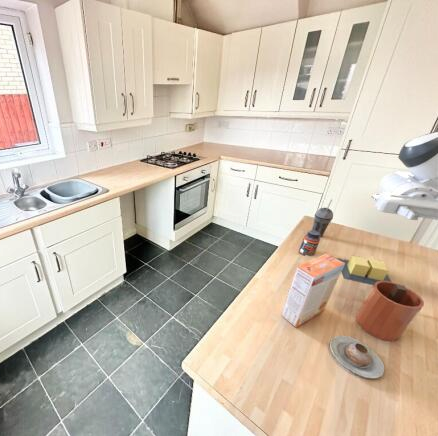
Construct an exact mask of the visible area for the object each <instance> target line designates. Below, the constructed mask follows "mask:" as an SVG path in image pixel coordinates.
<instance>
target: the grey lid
mask: <svg viewBox="0 0 438 436" xmlns="http://www.w3.org/2000/svg"><path fill="white" fill-rule="evenodd" d="M329 348H330V351H331V353H332V354H333V356H334V358H335V359H336V360H337V361H338V362H339V364H341V365H342V366H343V367H344V368H345V369H347V370H348V371H350V372H352V373H353V374H354V375H356V376H358V377H360V378H364V379H378V378H380V377H382V376H383V375H384V374H385V365H384V362H383V360H382V359H381V357H380V356H379V355H378V354H377V352H375V350H373V348H371V346H368V345H367V344H366V343H364V342H362V341H361V340H358V339H356V338H354V337H352V336H348V335H336V336H334V337H332V338H331V339H330V341H329Z"/></svg>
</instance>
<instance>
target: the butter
mask: <svg viewBox="0 0 438 436" xmlns="http://www.w3.org/2000/svg"><path fill="white" fill-rule="evenodd" d="M348 260H349V262H348V264H347V266H348V269H349V271H350V274H353V275H358V276H362V277H365V275H366V274H367V276H368V278H371V279H376V280H380V281H383V280H384V278H385V276H386V275H388V273H389V268H387V266H386V264H385V262H384V261H382V260H377V259H373V258H368V259H367V258H366V257H363V256H357V255H351V256H350V258H349V259H348Z"/></svg>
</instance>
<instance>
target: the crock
mask: <svg viewBox="0 0 438 436" xmlns="http://www.w3.org/2000/svg"><path fill="white" fill-rule="evenodd" d="M395 284H399V285H401V284H400V283H396V282H393V281H392V282H389V281H378V282H376V283H375V284H374V285H372V287H371V289H370V291H369V293H368V294H367V296H366V298H365V300H364V301H363V303H362V305H361V306H360V308H359V310H358V312H357V313H356V316H355V320H356V322H357V325H359V327H360V328H361V329H362V330H363V331H364V332H366V333H367V334H369V335H371V336H372V337H375V338H377V339H379V340H382V341H386V342H395V341H397V340H399V338H400V337H402V336H403V334H404V333H405V331H406V330H407V328H408V327H409V326H410V325H411V323H412V322H413V321H414V319H415V318H416V317H417V315H418V313H420V311H421V310H422V309H423V308H424V306H425V303H424V302H425V301H424V300H423V298H422V297H421V296H420V295H419V294H418V293H417V292H416V291H413V290H412V289H410V288H409V287H407V286H405V288H406V289H407V292H406V294H405V295H404V297H403V298H402V300H401V301H400V303H399V304H398V303H396V302H394V301H392V300H390V299H388V298H387V296H388V294H389V293H390V291H391V290H392V288H393V287H394V285H395Z"/></svg>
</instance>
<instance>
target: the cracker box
mask: <svg viewBox="0 0 438 436" xmlns="http://www.w3.org/2000/svg"><path fill="white" fill-rule="evenodd" d="M344 265H345V263H344V262H342V261H340V260H338V259H337V257H334V256H332V255H330V254H328V253H324V254H322V255H320V256H318V257H316V258H314V259H311V260H309V261H307V262H304V263H302V264H300V265H298V266H296V268H295V272H294V275H293V278H292V280H291V284H290V286H289V290H288V293H287V295H286V297H285V301H284V304H283V308H282V310H281V313H280V316H281V317H283V318H284V319H285V320H286V321H287V322H288V323H289V324H291V325H292V326H293V327H294V328H298V327H299V326H302V325H303V324H305V323H307V322H308V321H310V320H311V319H314V318H315V317H317V316H319V315H320V314H322V313H324V311H325V309H326V307H327V305H328V302H329V300H330V298H331V296H332V294H333V291H334V289H335V287H336V285H337V283H338V280H339V279H340V276H341V275H342V269H343V267H344Z"/></svg>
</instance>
